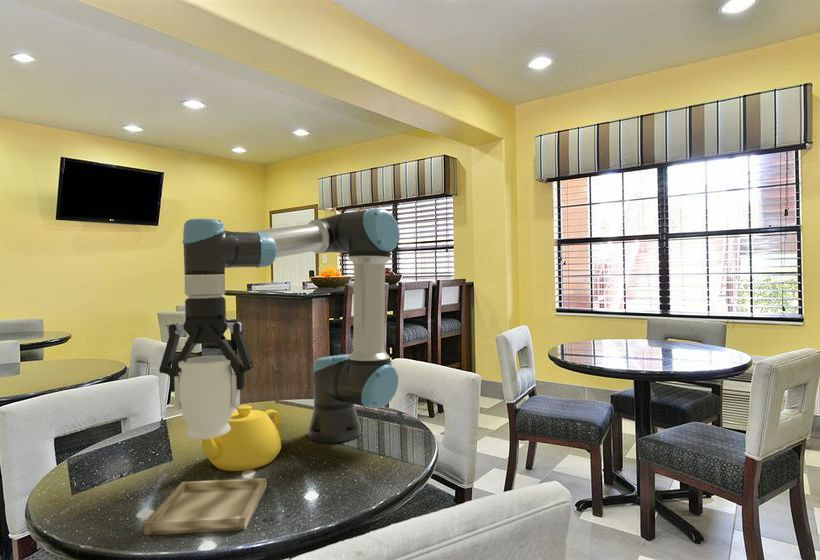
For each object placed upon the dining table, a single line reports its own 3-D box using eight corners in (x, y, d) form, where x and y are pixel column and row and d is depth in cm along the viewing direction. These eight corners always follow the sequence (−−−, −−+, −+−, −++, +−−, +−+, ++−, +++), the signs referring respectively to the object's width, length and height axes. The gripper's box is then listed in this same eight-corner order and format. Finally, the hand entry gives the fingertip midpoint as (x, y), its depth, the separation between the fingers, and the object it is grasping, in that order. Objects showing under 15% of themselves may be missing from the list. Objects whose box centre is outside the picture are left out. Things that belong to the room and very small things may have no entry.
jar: (216, 443, 93) (214, 364, 93) (168, 441, 95) (166, 363, 95) (246, 426, 103) (244, 354, 103) (202, 424, 105) (200, 354, 105)
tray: (266, 487, 109) (266, 478, 109) (244, 530, 91) (244, 518, 91) (182, 491, 108) (182, 481, 108) (143, 535, 90) (143, 523, 90)
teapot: (214, 487, 110) (213, 426, 110) (175, 469, 121) (174, 413, 121) (303, 454, 129) (302, 402, 129) (262, 440, 140) (261, 393, 140)
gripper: (267, 294, 103) (270, 399, 104) (155, 297, 102) (157, 403, 102) (258, 296, 96) (261, 409, 96) (137, 298, 94) (140, 414, 95)
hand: (208, 406), depth 99 cm, fingers closed on jar, 10 cm apart
